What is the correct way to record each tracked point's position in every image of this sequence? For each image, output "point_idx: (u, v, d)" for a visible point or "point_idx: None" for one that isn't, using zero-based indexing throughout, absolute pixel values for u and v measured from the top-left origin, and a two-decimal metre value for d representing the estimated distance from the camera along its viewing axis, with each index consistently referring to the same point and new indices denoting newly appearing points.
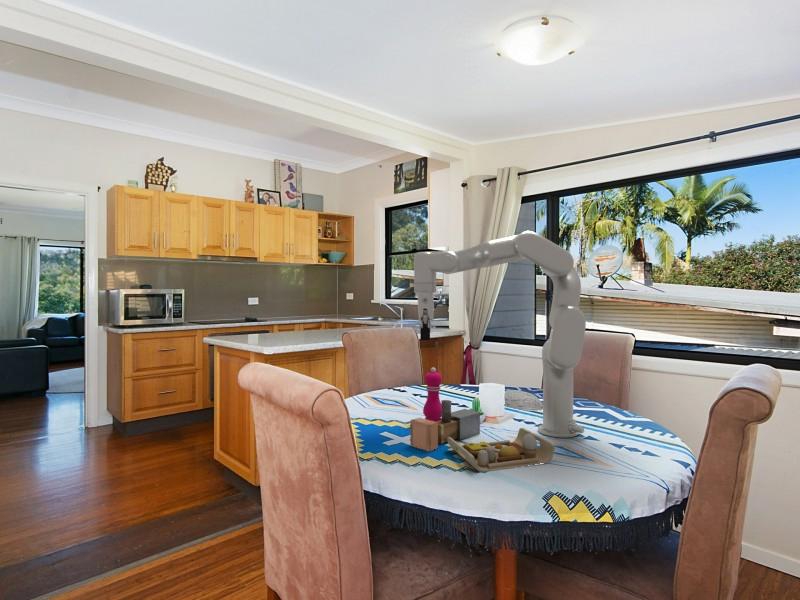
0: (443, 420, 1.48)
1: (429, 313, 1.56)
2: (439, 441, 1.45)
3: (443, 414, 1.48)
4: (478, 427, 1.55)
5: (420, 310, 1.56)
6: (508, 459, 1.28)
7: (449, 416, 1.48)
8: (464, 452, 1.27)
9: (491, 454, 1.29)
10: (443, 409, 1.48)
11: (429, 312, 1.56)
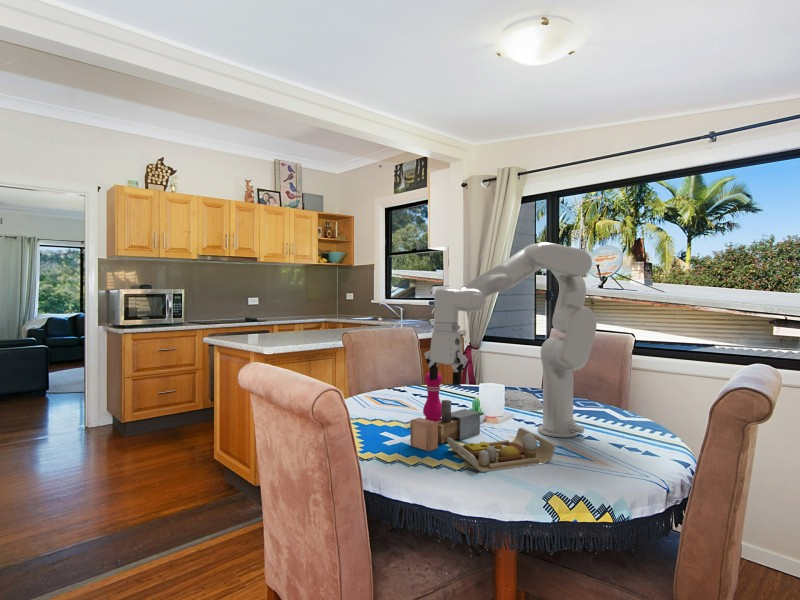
0: (443, 420, 1.48)
1: None
2: (439, 441, 1.45)
3: (443, 414, 1.48)
4: (478, 427, 1.55)
5: (454, 353, 1.44)
6: (509, 459, 1.28)
7: (449, 416, 1.48)
8: (465, 452, 1.27)
9: (492, 454, 1.29)
10: (443, 409, 1.48)
11: (460, 354, 1.46)
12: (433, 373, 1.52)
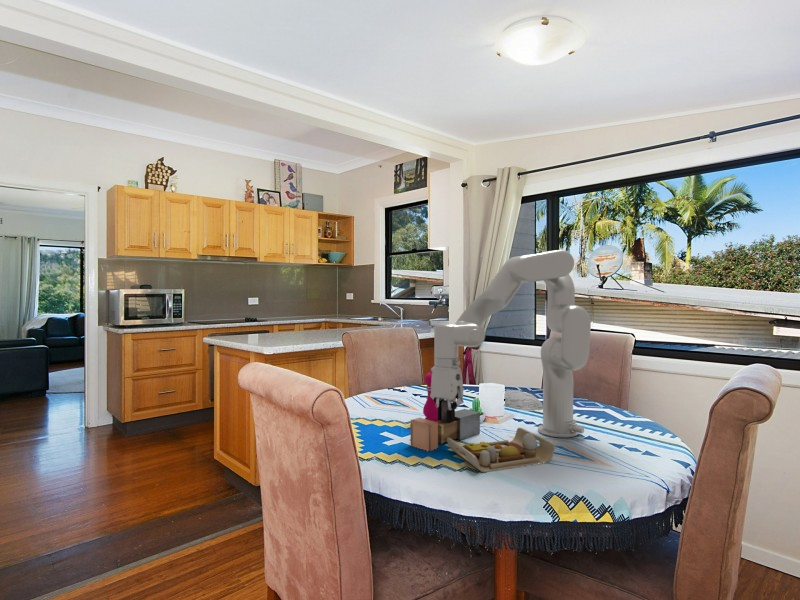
0: (443, 420, 1.48)
1: (461, 390, 1.46)
2: (439, 441, 1.45)
3: (443, 414, 1.48)
4: (478, 427, 1.55)
5: (454, 388, 1.44)
6: (509, 459, 1.28)
7: None
8: (466, 453, 1.27)
9: (492, 454, 1.29)
10: (443, 409, 1.48)
11: (461, 389, 1.46)
12: None
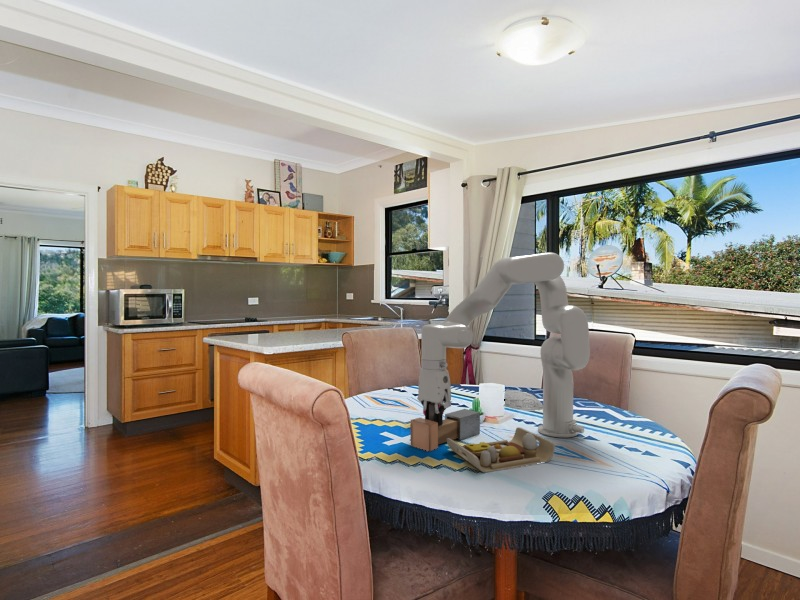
0: None
1: (449, 393, 1.42)
2: None
3: (430, 417, 1.44)
4: (478, 427, 1.55)
5: (442, 391, 1.40)
6: (510, 459, 1.28)
7: None
8: (467, 453, 1.26)
9: (493, 455, 1.29)
10: (430, 412, 1.44)
11: (449, 392, 1.42)
12: None
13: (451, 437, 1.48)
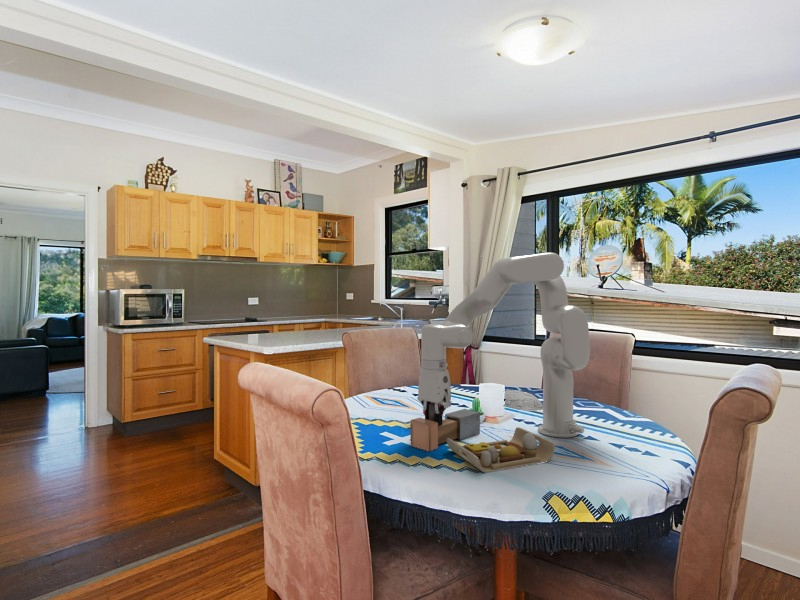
0: None
1: (448, 393, 1.42)
2: None
3: (430, 417, 1.44)
4: (478, 427, 1.55)
5: (442, 391, 1.40)
6: (510, 459, 1.28)
7: None
8: (467, 453, 1.26)
9: (493, 455, 1.28)
10: (430, 412, 1.44)
11: (449, 392, 1.42)
12: None
13: (451, 437, 1.48)
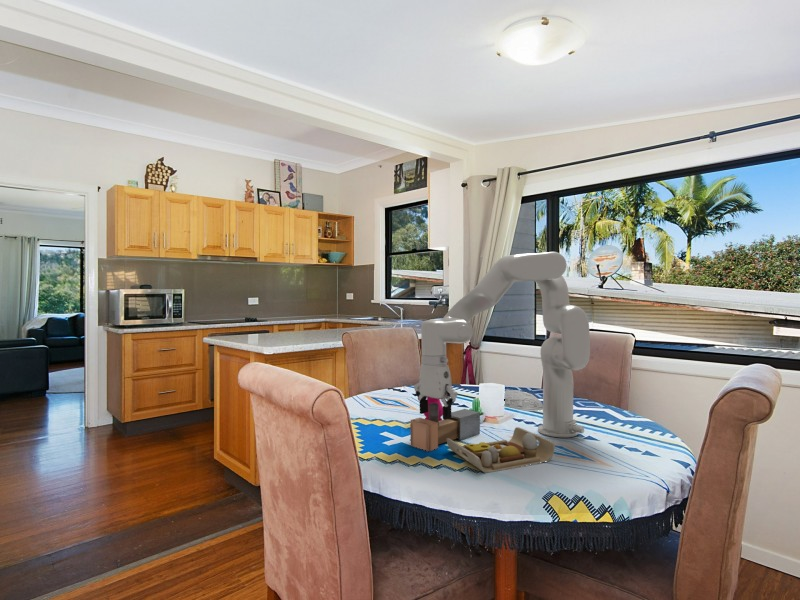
0: None
1: None
2: None
3: (430, 417, 1.44)
4: (478, 427, 1.55)
5: (443, 387, 1.41)
6: (511, 459, 1.28)
7: (436, 419, 1.44)
8: (468, 454, 1.26)
9: (494, 455, 1.28)
10: (430, 412, 1.44)
11: None
12: (423, 406, 1.48)
13: (451, 437, 1.48)
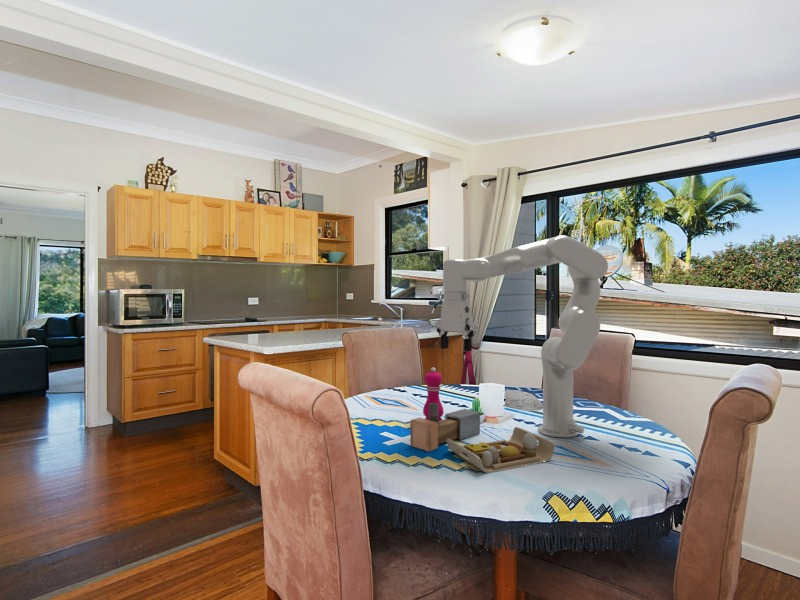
0: None
1: None
2: None
3: (430, 417, 1.44)
4: (478, 427, 1.55)
5: (464, 320, 1.50)
6: (511, 459, 1.28)
7: (436, 419, 1.44)
8: (469, 454, 1.26)
9: (494, 455, 1.28)
10: (430, 412, 1.44)
11: None
12: (444, 342, 1.57)
13: (451, 437, 1.48)
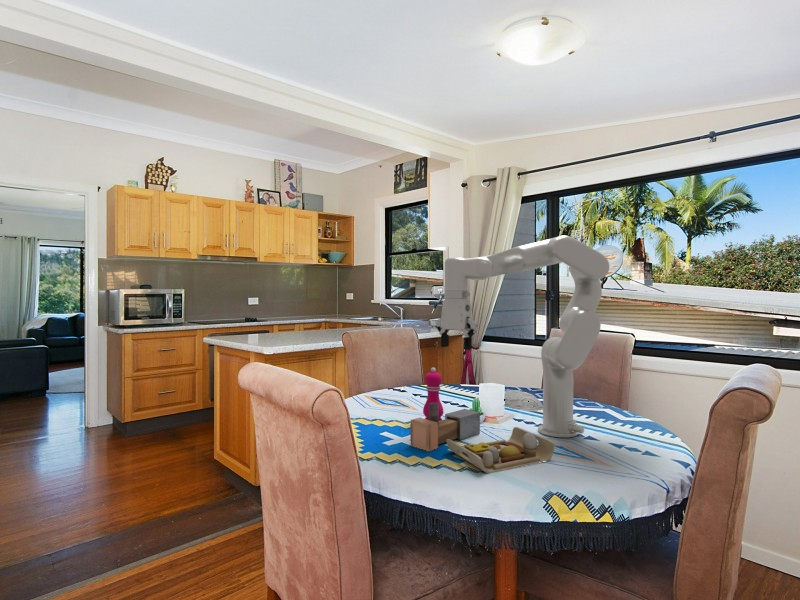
0: None
1: None
2: None
3: (430, 417, 1.44)
4: (478, 427, 1.55)
5: (464, 318, 1.50)
6: (511, 459, 1.28)
7: (436, 419, 1.44)
8: (469, 454, 1.26)
9: (495, 455, 1.28)
10: (430, 412, 1.44)
11: None
12: (444, 340, 1.58)
13: (451, 437, 1.48)
